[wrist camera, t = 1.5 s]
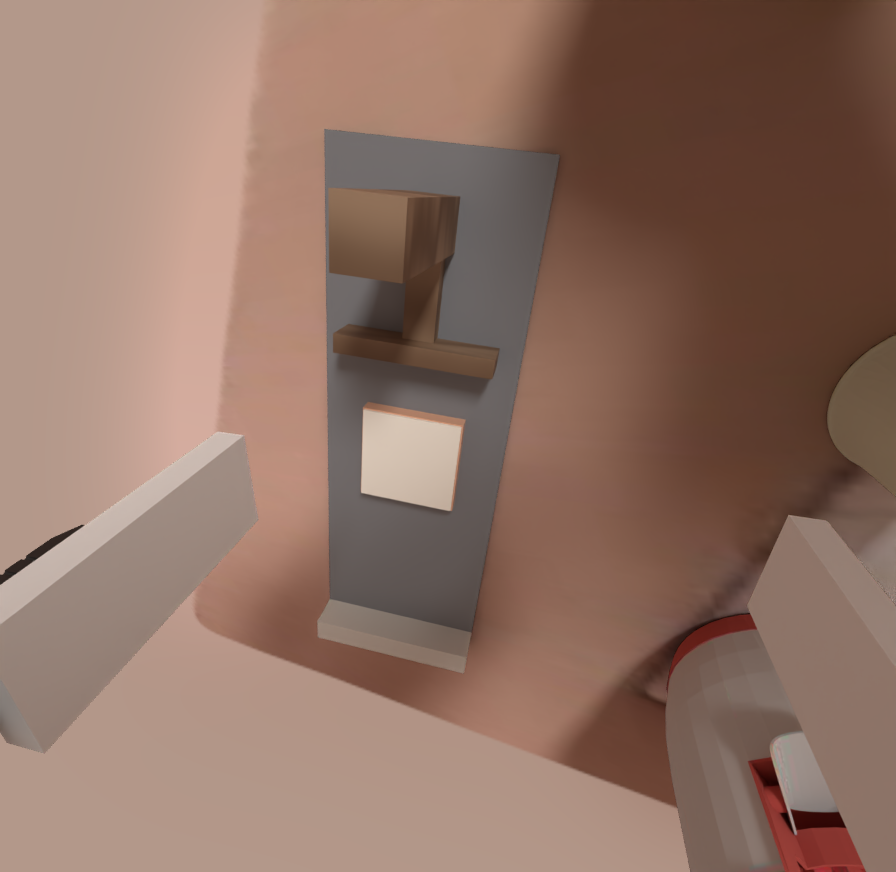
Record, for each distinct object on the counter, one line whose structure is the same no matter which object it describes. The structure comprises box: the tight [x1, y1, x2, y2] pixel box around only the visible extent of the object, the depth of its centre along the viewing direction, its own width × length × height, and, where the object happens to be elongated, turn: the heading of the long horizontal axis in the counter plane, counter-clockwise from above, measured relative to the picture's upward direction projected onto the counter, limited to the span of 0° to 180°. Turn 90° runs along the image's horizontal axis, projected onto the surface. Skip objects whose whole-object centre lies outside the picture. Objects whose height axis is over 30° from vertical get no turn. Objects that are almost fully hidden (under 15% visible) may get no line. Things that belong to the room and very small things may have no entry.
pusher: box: [328, 188, 500, 379], centre depth 24 cm, size 9×10×11 cm
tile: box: [361, 402, 466, 511], centre depth 34 cm, size 7×7×1 cm
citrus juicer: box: [665, 614, 866, 872], centre depth 29 cm, size 16×17×20 cm
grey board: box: [317, 129, 560, 674], centre depth 34 cm, size 38×13×3 cm, turn 174°
